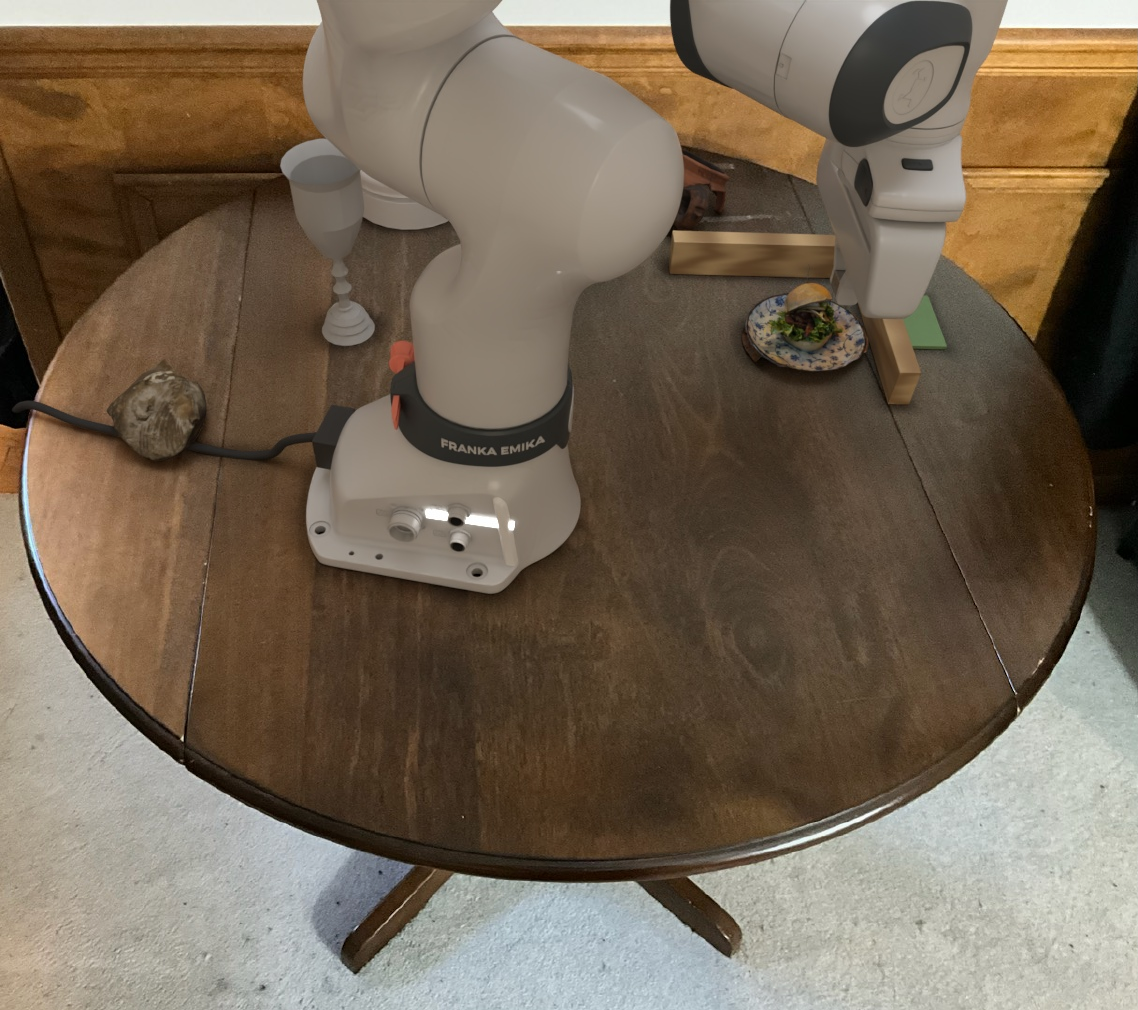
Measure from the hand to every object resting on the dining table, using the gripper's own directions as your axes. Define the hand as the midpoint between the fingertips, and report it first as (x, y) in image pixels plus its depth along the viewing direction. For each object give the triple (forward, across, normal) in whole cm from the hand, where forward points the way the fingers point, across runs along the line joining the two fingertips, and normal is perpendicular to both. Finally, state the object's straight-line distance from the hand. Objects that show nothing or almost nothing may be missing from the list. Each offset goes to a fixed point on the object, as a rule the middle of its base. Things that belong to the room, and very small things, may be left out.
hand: (842, 294), depth 85 cm
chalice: (+15, -11, -43) cm, 46 cm away
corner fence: (+13, -12, 0) cm, 18 cm away
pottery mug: (+13, -31, -9) cm, 34 cm away
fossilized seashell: (+15, +3, -57) cm, 59 cm away
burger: (+13, -10, +2) cm, 17 cm away
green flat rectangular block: (+13, -14, +13) cm, 23 cm away
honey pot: (+14, -34, -38) cm, 53 cm away
